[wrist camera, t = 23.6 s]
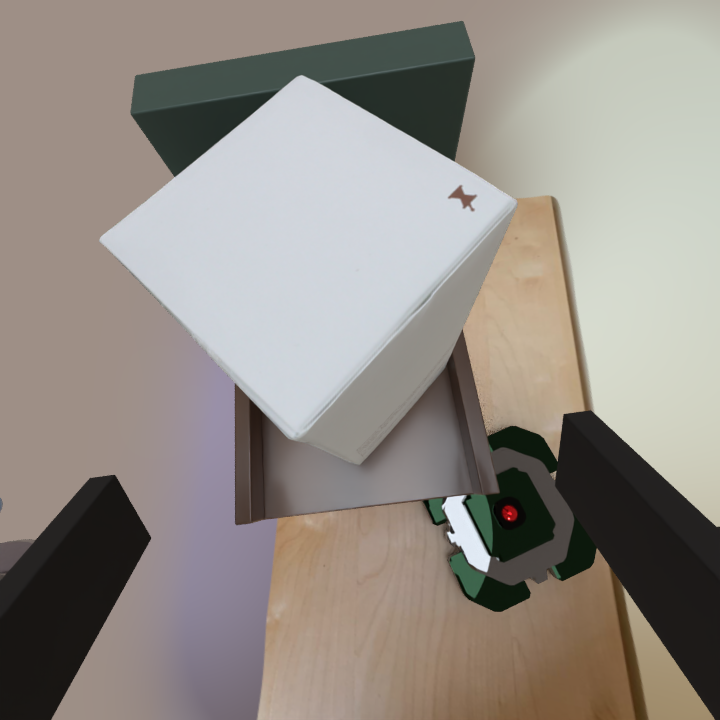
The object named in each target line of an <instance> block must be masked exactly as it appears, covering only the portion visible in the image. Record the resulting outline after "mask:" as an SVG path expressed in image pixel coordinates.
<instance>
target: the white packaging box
mask: <svg viewBox="0 0 720 720" xmlns="http://www.w3.org/2000/svg"><path fill="white" fill-rule="evenodd" d="M517 205H518V203H517V200H516V199H514V198H512V197H510V196H509V195H507V194H505V193H504V192H502V191H501V190H499V189H497V188H496V187H494V186H493V185H491V184H490V183H488V182H487V181H485V180H484V179H482V178H480V177H479V176H477V175H476V174H474V173H472V172H471V171H469V170H467V169H465V168H464V167H462V166H461V165H459V164H457V163H456V162H454V161H452V160H450V159H449V158H447V157H445V156H444V155H442V154H440V153H438V152H437V151H435V150H433V149H431V148H430V147H428V146H426V145H424V144H423V143H421V142H419V141H418V140H416V139H414V138H413V137H411V136H409V135H407V134H406V133H404V132H402V131H400V130H398V129H397V128H395V127H393V126H392V125H390V124H388V123H386V122H385V121H383V120H381V119H380V118H378V117H376V116H375V115H373V114H371V113H369V112H368V111H366V110H364V109H362V108H361V107H359V106H357V105H356V104H354V103H352V102H350V101H348V100H347V99H345V98H343V97H342V96H340V95H339V94H337V93H335V92H333V91H331V90H330V89H328V88H327V87H325V86H323V85H321V84H319V83H318V82H316V81H314V80H311V79H309V78H307V77H305V76H303V75H301V76H298V77H296V78H295V79H294V80H292V81H291V82H290V83H289V84H287V85H286V86H285V87H284V88H283V89H281V90H280V91H279V92H278V93H277V94H276V95H275V96H273V97H272V98H271V99H270V100H269V101H267V102H266V103H265V104H264V105H262V106H261V107H260V108H259V109H258V110H257V111H255V112H254V113H253V114H252V115H251V116H249V117H248V118H247V119H246V120H244V121H243V122H242V123H241V124H240V125H238V126H237V127H236V128H235V129H233V130H232V131H231V132H230V133H229V134H227V135H226V136H225V137H224V138H222V139H221V140H220V141H219V142H218V143H216V144H215V145H214V146H213V147H211V148H210V149H209V150H208V151H207V152H205V153H204V154H203V155H202V156H200V157H199V158H198V159H197V160H196V161H194V162H193V163H192V164H191V165H189V166H188V167H187V168H186V169H184V170H183V171H182V172H181V173H180V174H178V175H177V176H176V177H175V178H173V179H172V180H171V181H170V182H169V183H167V184H166V185H165V186H164V187H162V188H161V189H160V190H159V191H158V192H156V193H155V194H154V195H153V196H151V197H150V198H149V199H148V200H146V201H145V202H144V203H143V204H142V205H140V206H139V207H138V208H137V209H135V210H134V211H133V212H131V213H130V214H129V215H128V216H126V217H125V218H124V219H123V220H122V221H120V222H119V223H118V224H116V225H115V226H114V227H113V228H111V229H110V230H109V231H108V232H107V233H105V234H104V235H103V236H101V238H100V240H99V242H100V243H102V244H103V245H104V246H105V247H106V248H107V249H108V250H109V251H110V252H111V253H112V254H113V255H114V256H115V257H116V258H117V260H119V262H121V264H122V265H123V266H124V267H125V268H126V269H127V270H128V271H129V272H130V273H131V274H132V275H133V276H134V277H135V278H136V279H137V280H138V281H139V282H140V283H141V284H142V285H143V286H144V287H145V288H146V290H147V291H148V292H149V293H150V294H152V296H153V297H154V298H155V299H156V300H157V301H158V302H159V303H160V304H161V305H162V306H163V307H164V308H165V309H166V310H167V312H169V314H170V315H171V316H172V317H173V318H174V319H175V320H176V321H177V322H178V323H179V324H180V325H181V326H182V327H183V328H184V329H185V330H186V332H187V333H188V334H189V335H190V336H191V337H192V338H193V339H194V340H195V341H196V342H197V343H198V344H199V345H200V347H202V349H203V350H204V351H205V352H206V353H207V354H208V355H209V356H210V357H211V358H212V359H213V360H214V361H215V362H216V363H217V365H218V366H219V367H220V368H221V369H222V370H223V371H224V372H225V373H226V374H227V375H228V376H229V377H230V378H231V379H232V380H233V381H234V382H235V383H236V384H237V386H238V387H239V388H240V389H241V390H242V391H243V392H244V393H245V394H246V395H247V396H248V397H249V398H250V399H251V400H252V401H253V402H254V403H255V404H256V405H257V406H258V407H259V408H260V410H261V411H262V412H263V413H264V414H265V415H266V416H267V417H268V418H269V419H270V420H271V421H272V422H273V423H274V424H275V425H276V426H277V427H278V428H279V429H280V430H281V431H282V432H283V434H284V435H285V436H286V437H287V438H288V439H291V440H295V441H298V442H303V443H307V444H309V445H312V446H315V447H317V448H319V449H322V450H324V451H326V452H328V453H330V454H333V455H334V456H337V457H339V458H341V459H343V460H346V461H348V462H351V463H354V464H357V465H360V464H361V463H362V462H363V461H364V460H365V459H366V458H367V457H368V456H369V455H370V454H371V453H372V452H373V451H374V450H375V448H376V447H377V446H378V445H379V444H380V443H381V442H382V441H383V439H384V438H385V437H386V436H387V435H388V434H389V433H390V432H391V430H392V429H393V428H394V427H395V426H396V425H397V424H398V423H399V421H400V420H401V419H402V418H403V417H404V416H405V415H406V413H407V412H408V411H409V410H410V409H411V408H412V406H413V405H414V404H415V403H416V402H417V401H418V399H419V398H420V397H421V396H422V395H423V394H424V392H425V391H426V390H427V389H428V388H429V387H430V385H431V384H432V383H433V382H434V381H435V380H436V378H437V377H438V376H439V375H440V374H441V372H442V371H443V370H444V369H445V367H446V364H447V362H448V360H449V358H450V356H451V354H452V351H453V349H454V347H455V344H456V342H457V340H458V338H459V335H460V333H461V331H462V329H463V326H464V324H465V322H466V320H467V318H468V315H469V313H470V311H471V309H472V306H473V304H474V302H475V300H476V298H477V295H478V293H479V291H480V289H481V286H482V284H483V282H484V280H485V277H486V275H487V273H488V271H489V269H490V266H491V264H492V262H493V260H494V257H495V255H496V253H497V251H498V249H499V246H500V244H501V242H502V240H503V237H504V235H505V233H506V231H507V228H508V226H509V224H510V221H511V219H512V217H513V215H514V213H515V210H516V208H517Z"/></svg>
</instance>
